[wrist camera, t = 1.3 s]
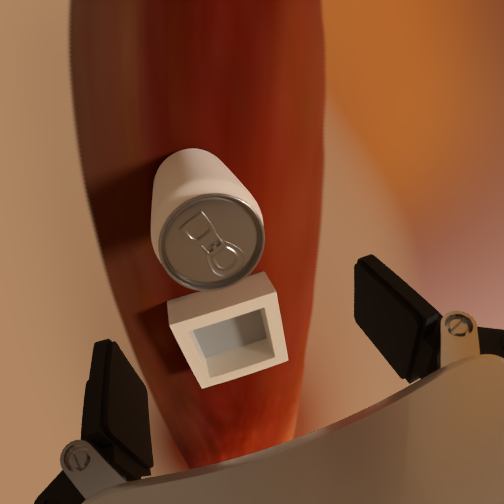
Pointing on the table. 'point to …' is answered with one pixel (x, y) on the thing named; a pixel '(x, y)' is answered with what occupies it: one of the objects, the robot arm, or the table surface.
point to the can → (204, 222)
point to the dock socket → (229, 330)
